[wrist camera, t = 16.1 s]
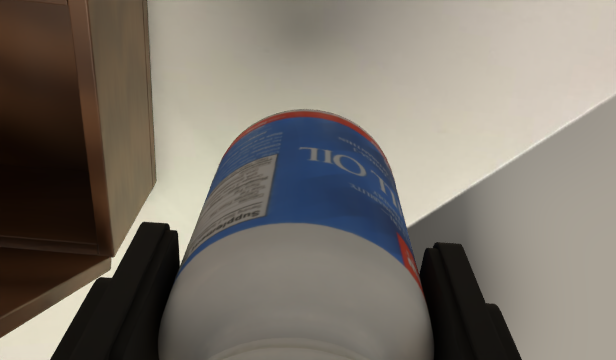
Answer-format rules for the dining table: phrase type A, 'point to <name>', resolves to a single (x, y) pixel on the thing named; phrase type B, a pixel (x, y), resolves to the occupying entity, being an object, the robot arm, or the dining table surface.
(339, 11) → the dining table surface
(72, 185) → the chest
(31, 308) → the lid
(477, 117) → the dining table surface
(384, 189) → the pill bottle
